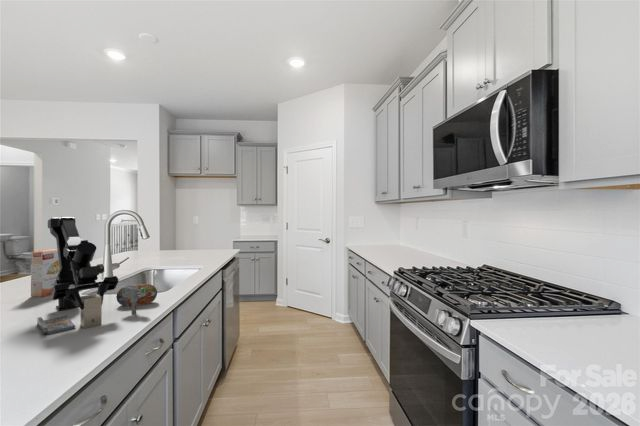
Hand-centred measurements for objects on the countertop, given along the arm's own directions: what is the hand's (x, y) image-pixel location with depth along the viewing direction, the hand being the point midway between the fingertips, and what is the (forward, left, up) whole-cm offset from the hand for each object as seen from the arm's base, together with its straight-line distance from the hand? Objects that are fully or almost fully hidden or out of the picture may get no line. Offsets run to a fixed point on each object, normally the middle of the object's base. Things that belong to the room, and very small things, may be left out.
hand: (92, 306), depth 108 cm
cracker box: (-64, -3, -7) cm, 65 cm away
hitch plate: (-8, -9, -7) cm, 14 cm away
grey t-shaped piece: (-4, +14, -7) cm, 17 cm away
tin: (-15, +19, -7) cm, 26 cm away
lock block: (-1, 0, -7) cm, 7 cm away
